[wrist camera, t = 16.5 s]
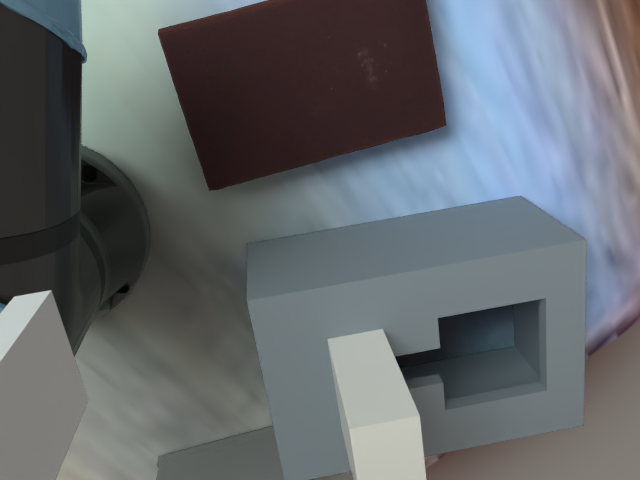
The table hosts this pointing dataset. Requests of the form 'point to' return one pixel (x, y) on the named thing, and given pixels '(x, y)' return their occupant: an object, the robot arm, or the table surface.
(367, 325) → the keyhole box
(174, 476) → the cassette tape recorder
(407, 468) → the peg
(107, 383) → the table surface
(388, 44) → the book
